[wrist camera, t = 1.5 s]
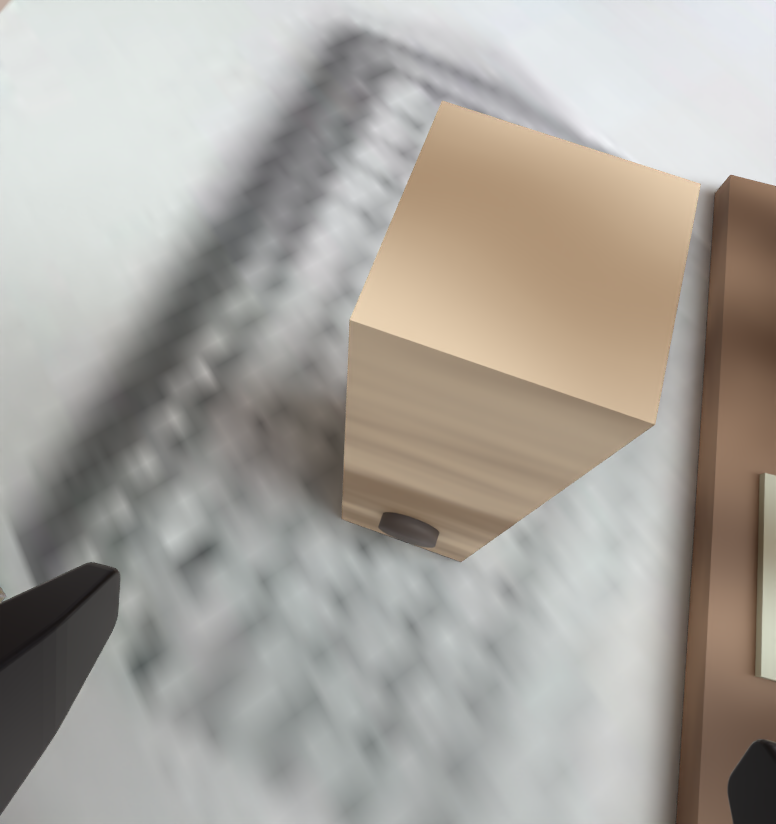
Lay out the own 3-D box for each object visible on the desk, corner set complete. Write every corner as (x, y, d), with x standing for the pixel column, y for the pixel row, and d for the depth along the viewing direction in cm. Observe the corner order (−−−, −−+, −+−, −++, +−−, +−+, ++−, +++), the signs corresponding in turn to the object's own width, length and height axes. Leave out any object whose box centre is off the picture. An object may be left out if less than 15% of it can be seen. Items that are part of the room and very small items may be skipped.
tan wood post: (457, 573, 21) (649, 451, 8) (337, 529, 21) (339, 343, 8) (497, 438, 23) (704, 166, 10) (386, 399, 23) (449, 84, 10)
